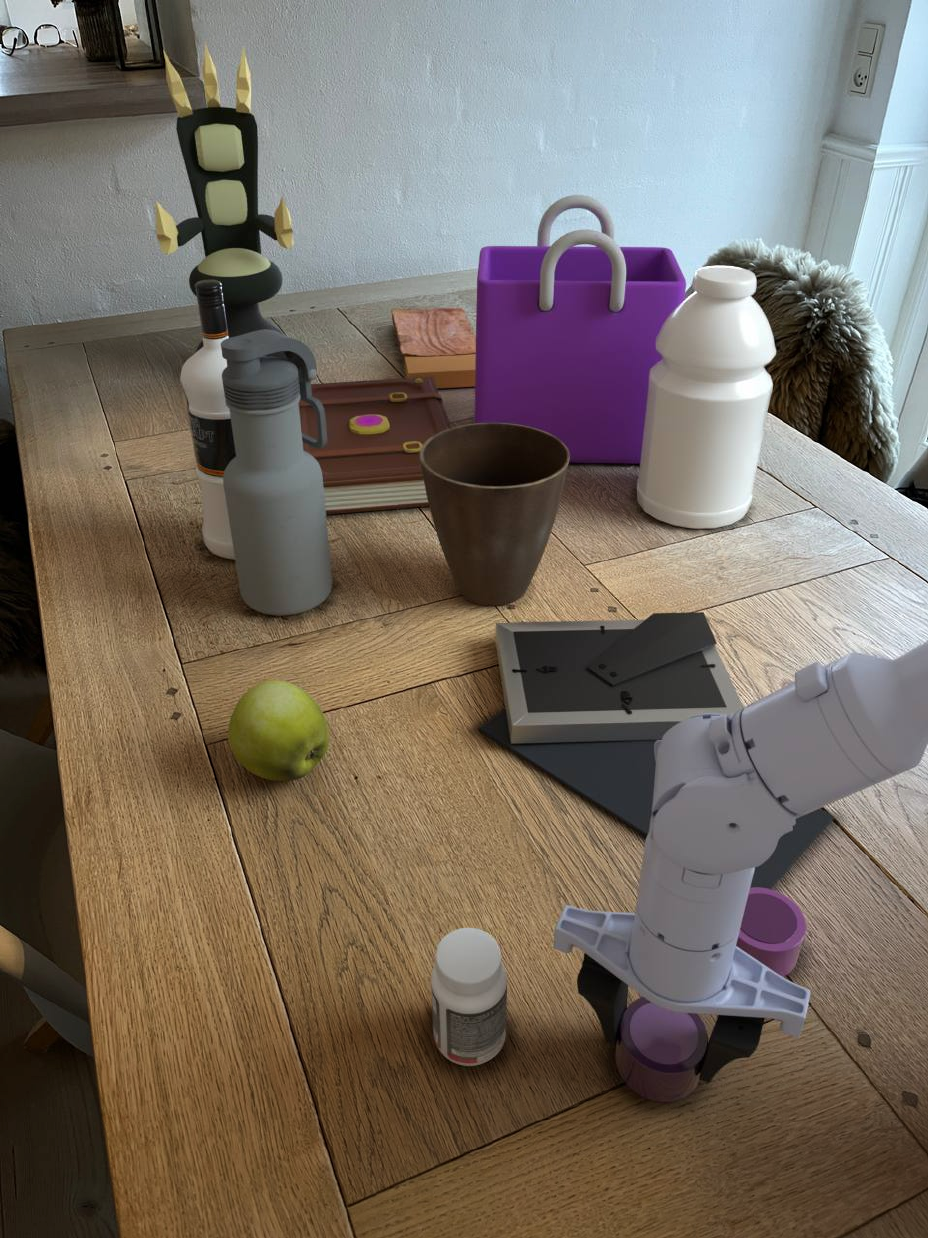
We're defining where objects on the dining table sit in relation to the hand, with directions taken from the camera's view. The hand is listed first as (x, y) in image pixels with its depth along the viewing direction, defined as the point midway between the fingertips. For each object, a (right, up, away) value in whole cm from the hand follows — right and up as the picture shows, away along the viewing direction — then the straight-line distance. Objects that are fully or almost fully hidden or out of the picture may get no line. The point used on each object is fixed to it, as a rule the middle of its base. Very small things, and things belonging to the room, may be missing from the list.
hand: (660, 1049), depth 63 cm
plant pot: (-9, +30, +46) cm, 56 cm away
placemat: (+3, +14, +22) cm, 26 cm away
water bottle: (-31, +30, +45) cm, 62 cm away
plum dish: (+8, +4, +8) cm, 12 cm away
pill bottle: (-12, 0, +2) cm, 12 cm away
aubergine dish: (0, -1, +1) cm, 1 cm away
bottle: (+16, +41, +61) cm, 75 cm away
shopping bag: (+2, +52, +77) cm, 93 cm away
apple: (-28, +14, +23) cm, 39 cm away
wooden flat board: (-17, +71, +103) cm, 126 cm away
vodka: (-38, +36, +54) cm, 75 cm away
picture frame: (+2, +21, +31) cm, 38 cm away
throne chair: (-48, +68, +99) cm, 129 cm away
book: (-25, +49, +72) cm, 91 cm away
